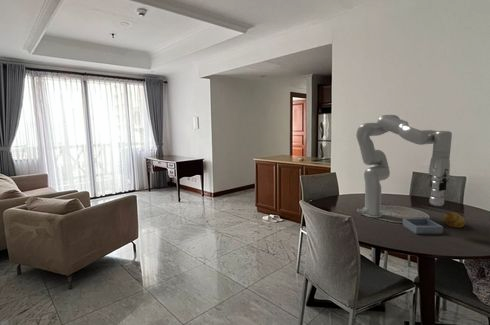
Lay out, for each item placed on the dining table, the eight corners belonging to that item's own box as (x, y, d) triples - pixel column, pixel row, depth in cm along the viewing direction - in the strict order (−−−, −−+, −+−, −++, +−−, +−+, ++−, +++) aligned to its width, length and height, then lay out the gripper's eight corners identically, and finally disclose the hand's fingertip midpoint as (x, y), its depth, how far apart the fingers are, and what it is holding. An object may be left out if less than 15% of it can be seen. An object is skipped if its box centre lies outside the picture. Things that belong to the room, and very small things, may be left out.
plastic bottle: (437, 203, 156) (441, 167, 153) (446, 207, 149) (450, 169, 146) (426, 203, 156) (429, 167, 152) (434, 207, 149) (438, 170, 146)
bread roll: (440, 220, 173) (441, 207, 172) (460, 222, 169) (461, 209, 168) (446, 227, 161) (447, 214, 160) (467, 229, 157) (468, 215, 156)
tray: (416, 234, 153) (416, 227, 152) (402, 225, 166) (402, 218, 166) (442, 233, 152) (443, 226, 152) (426, 224, 166) (427, 218, 166)
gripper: (423, 152, 157) (421, 184, 159) (444, 157, 140) (441, 192, 142) (437, 152, 156) (434, 184, 159) (460, 157, 139) (456, 192, 142)
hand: (437, 188), depth 151 cm, fingers closed on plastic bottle, 6 cm apart
